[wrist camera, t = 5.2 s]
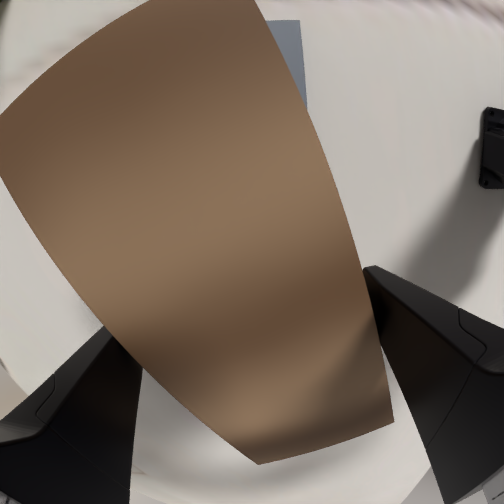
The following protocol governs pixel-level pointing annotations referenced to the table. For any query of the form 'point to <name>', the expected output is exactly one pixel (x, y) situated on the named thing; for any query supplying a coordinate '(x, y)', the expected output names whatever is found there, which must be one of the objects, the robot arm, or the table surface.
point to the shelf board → (203, 223)
